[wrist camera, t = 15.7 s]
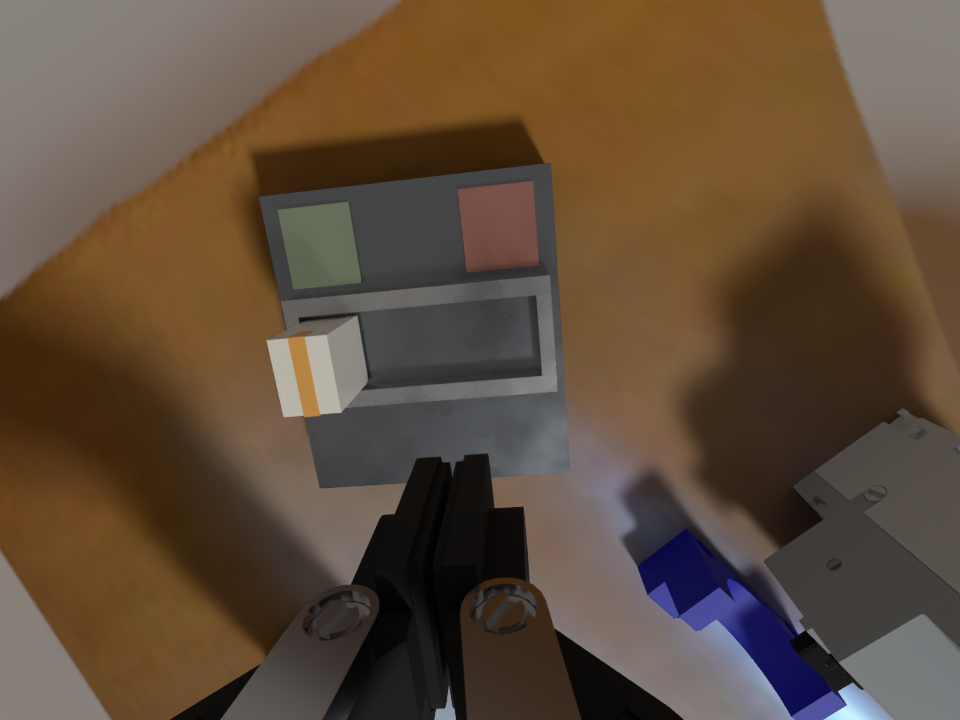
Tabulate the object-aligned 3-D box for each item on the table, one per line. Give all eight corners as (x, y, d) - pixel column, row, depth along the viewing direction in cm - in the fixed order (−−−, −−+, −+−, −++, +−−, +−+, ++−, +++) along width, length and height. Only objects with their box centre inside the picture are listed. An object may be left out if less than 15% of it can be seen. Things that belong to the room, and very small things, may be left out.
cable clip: (636, 565, 36) (660, 630, 31) (685, 526, 35) (719, 587, 30) (745, 662, 38) (786, 742, 32) (795, 629, 37) (846, 705, 31)
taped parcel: (368, 382, 30) (340, 414, 25) (319, 386, 30) (283, 418, 25) (357, 314, 29) (325, 334, 24) (306, 319, 29) (265, 339, 24)
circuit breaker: (717, 539, 35) (859, 762, 21) (902, 407, 32) (1222, 565, 18) (782, 606, 36) (960, 861, 22) (968, 486, 33) (1320, 694, 19)
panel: (565, 450, 34) (571, 480, 30) (335, 466, 35) (314, 496, 32) (547, 168, 29) (552, 160, 26) (282, 198, 31) (249, 196, 27)
